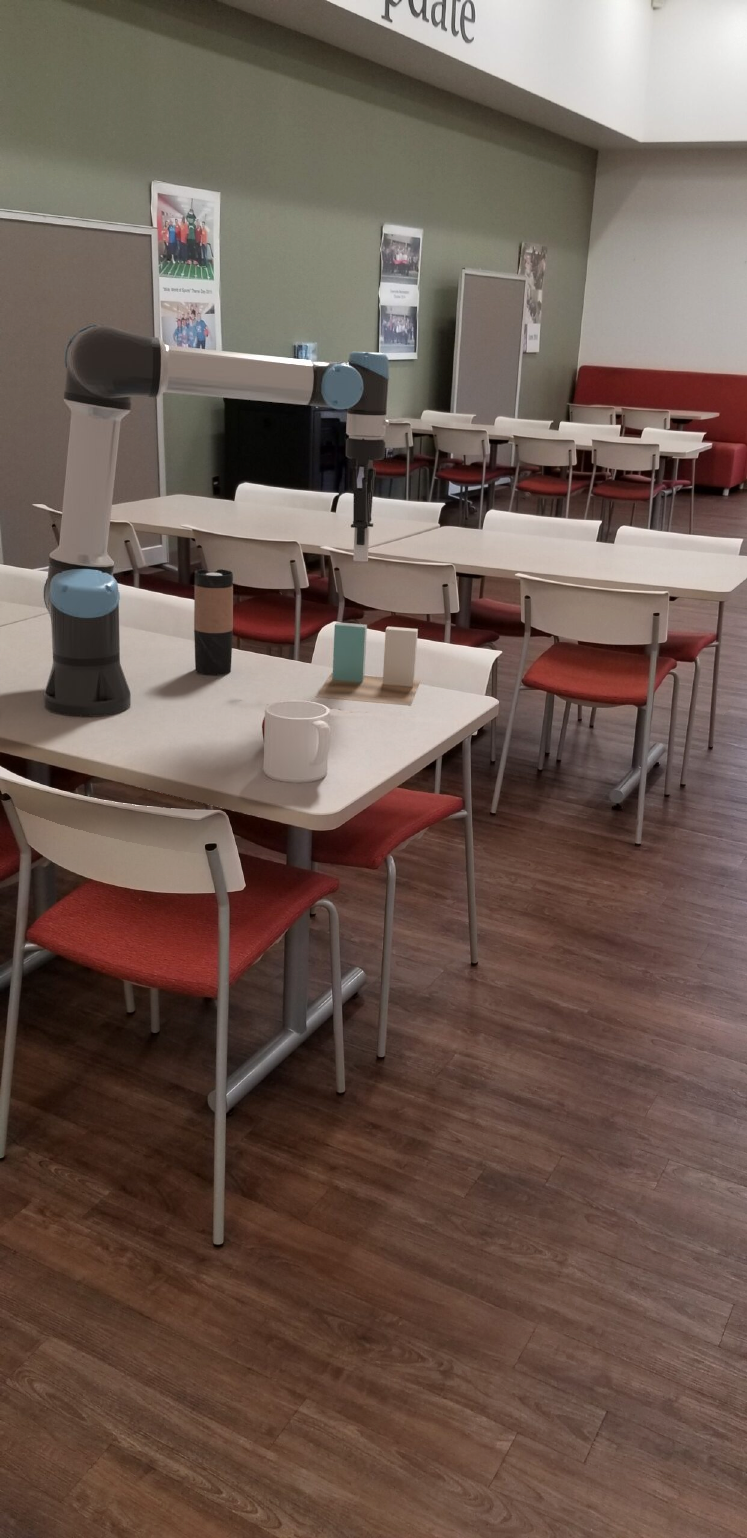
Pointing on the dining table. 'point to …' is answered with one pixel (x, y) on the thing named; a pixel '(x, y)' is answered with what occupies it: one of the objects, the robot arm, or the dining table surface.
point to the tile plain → (400, 656)
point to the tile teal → (349, 652)
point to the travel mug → (213, 621)
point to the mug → (296, 741)
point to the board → (368, 691)
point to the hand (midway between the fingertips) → (360, 560)
